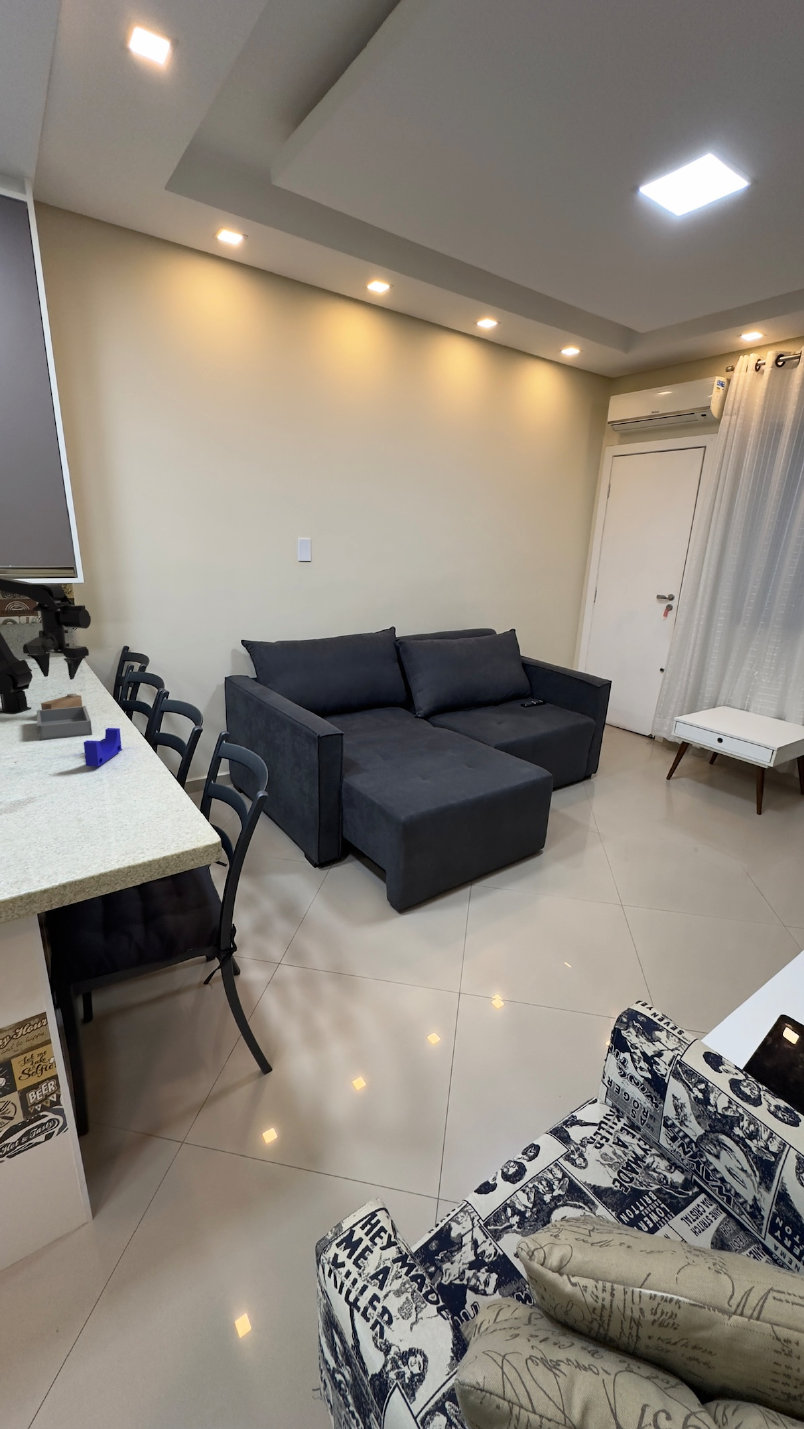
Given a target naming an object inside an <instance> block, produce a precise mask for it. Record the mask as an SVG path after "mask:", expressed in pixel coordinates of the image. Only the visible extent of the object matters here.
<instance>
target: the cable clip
mask: <svg viewBox="0 0 804 1429" xmlns="http://www.w3.org/2000/svg"><path fill="white" fill-rule="evenodd" d="M104 731H105V735H104V738H102V739H100V740H85V741H83V750H84V758H85V760H84V761H85V767H100V766H101V765H102V764H104V763H105V762H108V761H109V760H110V759H111V758H113V757H114V756H116V755H117V754H119V753H120V752H121V751H123V749H122V738H121V728H120V727H119V728H118V727H107V728H106V729H104Z"/></svg>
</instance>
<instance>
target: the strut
mask: <svg viewBox="0 0 804 1429" xmlns="http://www.w3.org/2000/svg"><path fill="white" fill-rule="evenodd" d="M82 706H83V700H82V695H78V694H77V693H69V694H67V695H66V696H62V697H59V698H55V699H52V700H51V699H50V700H47V701H44V702H41V703H40V707H41V708H40V709H41V710H47V709H59V708H70V707H82Z"/></svg>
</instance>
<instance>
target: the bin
mask: <svg viewBox="0 0 804 1429" xmlns="http://www.w3.org/2000/svg"><path fill="white" fill-rule="evenodd" d="M36 720H37V731H38V732H37V733H38V739H39V741H47V740H48V741H49V740H55V739H56V740H57V739H68V738H75V737H76V738H77V737H82V736H83V737H84V736H86V737H87V736H91V735H93V729H92V728H93V727H92V720H91V718H90V715H89V712H88V709H87V707H86V705H82V707H70V708H59V709H47V710H42V709H39V710H36Z"/></svg>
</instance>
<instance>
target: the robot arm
mask: <svg viewBox="0 0 804 1429" xmlns="http://www.w3.org/2000/svg"><path fill="white" fill-rule="evenodd" d="M0 591H1V592H5V593H10V594H14V595H20V596H23V597H27V598H28V599H30V600H31V601H33V602H36V603H37V604H36V606H34V607H33V608H32V612H33V611H34V612H39V613H40V620H41V629H40V630H38V636H37V637H35V638H33V639H31V640H30V641H28V642H27V643H24V645H22V651H23V652H22V653H23V654H26V655H27V657H29V658H31V659H33V660H34V661H35V662H36V664H37V666H38V668H39V670H40V671H41V674H42V675H43V677H45V678H47V677H48V676H49V675H50V674H49V673H50V660H51V659H50V658H51V653H53V654H61V655H63V656H64V658H63V660H64V661H65V662H66V665H67V671H68V678H69V680H74V679H75V677H76V674H77V672H78V669H79V667H80V665H81V663H82V661H83V660H84V659H86V657H89V656H90V652H89V648H87V646H86V645H84V646H83V645H82V646H81V645H73V646H70V643H69V642H67V639H66V634H69V628H70V629H71V628H72V629H88V628H89V627H90V625H91V622H92V616H91V615H90V612H89V611H88V610H87V609H86V604H85V605H84V604H79V605H75V604H74V603H73V602H72V600H71V599H70V598H69V597H68V595H67V594H66V592H65V591H64V589H63V587H62V585H61V584H59V583H54V582H53V583H51V582H48V583H47V582H45V583H44V582H37V583H36V582H30V581H29V582H28V581H24V580H19V579H15V578H10V577H7V576H5V577H4V576H0ZM65 628H67V629H65ZM32 672H33V670H32V669H31V667H30V666H29V664H28V661H27V660H26V659H19V658H17V657H16V656H15V655H14V653H13V652H12V650H11V648H10V646H9V644H8V643H7V641H6V640H5V638H4V636H3V635H2V633H1V631H0V705H1V709H0V713H5V714H14V715H15V714H18V713H21V712H25V711H28V710H31V709H32V706H28V700H27V699H28V698H27V696H26V692H25V690H28V689H29V688H30V683H31V682H32V679H33V677H34V676H33V674H32Z"/></svg>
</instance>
